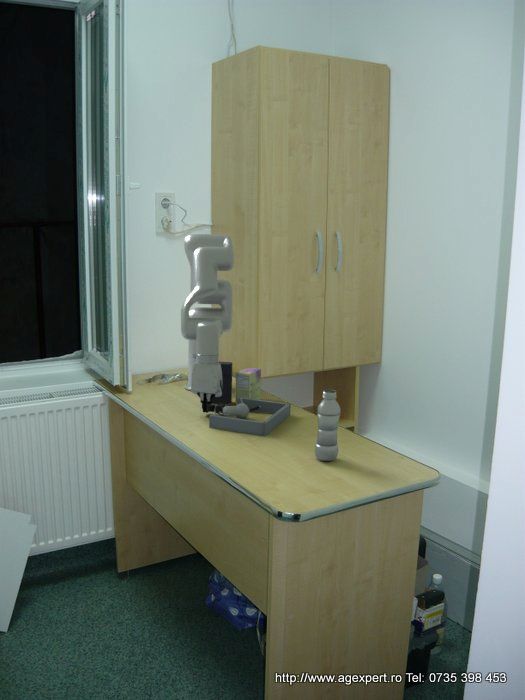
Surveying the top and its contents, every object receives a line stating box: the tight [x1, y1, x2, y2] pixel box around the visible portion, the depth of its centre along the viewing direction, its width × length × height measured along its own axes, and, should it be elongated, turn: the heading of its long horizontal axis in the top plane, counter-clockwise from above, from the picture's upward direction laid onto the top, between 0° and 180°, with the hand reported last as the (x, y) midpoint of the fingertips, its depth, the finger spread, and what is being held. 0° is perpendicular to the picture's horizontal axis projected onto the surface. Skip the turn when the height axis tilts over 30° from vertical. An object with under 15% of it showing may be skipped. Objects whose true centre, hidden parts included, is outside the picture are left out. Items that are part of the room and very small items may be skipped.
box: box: [234, 367, 262, 405], centre depth 246 cm, size 10×6×12 cm, turn 156°
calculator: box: [200, 361, 233, 405], centre depth 244 cm, size 11×4×15 cm, turn 84°
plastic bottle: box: [314, 389, 342, 462], centre depth 189 cm, size 6×7×20 cm
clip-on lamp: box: [207, 398, 262, 419], centre depth 229 cm, size 12×6×18 cm
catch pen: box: [208, 397, 292, 437], centre depth 224 cm, size 24×19×4 cm
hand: (206, 411), depth 230 cm, fingers closed
